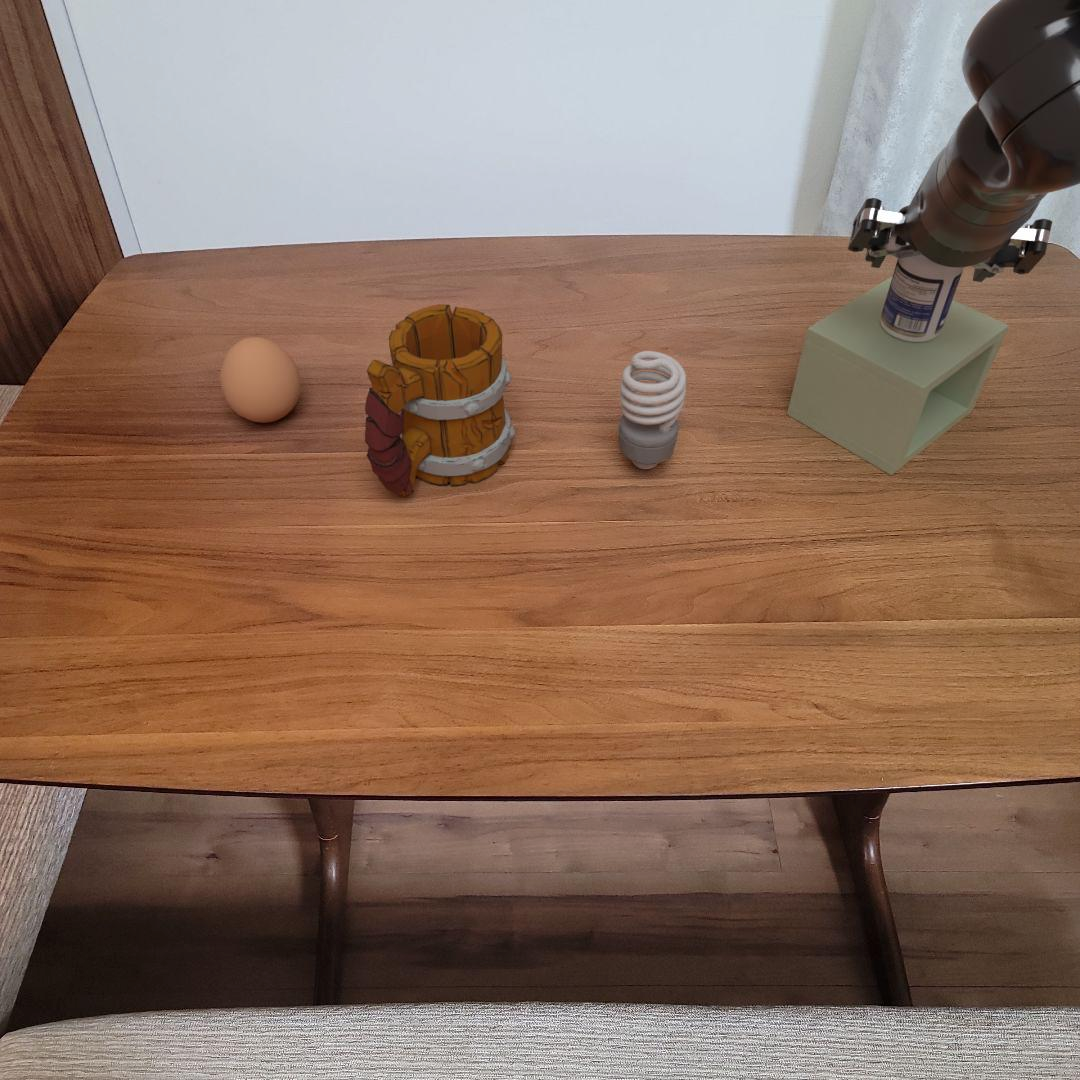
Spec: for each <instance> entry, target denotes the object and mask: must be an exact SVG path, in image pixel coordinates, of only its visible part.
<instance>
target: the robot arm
mask: <svg viewBox="0 0 1080 1080" xmlns="http://www.w3.org/2000/svg"><path fill="white" fill-rule="evenodd" d="M963 49H964V50H963V51H962V52H963V53H962V59H961V72H962V75H963V78H964V81H965V83H966V85H967V87H968V89H969V92H970V93H971V96H972V97H973V99H974V101H975V103H974V104H973V105H972V106H971V107H970V108H969V109H968V110H967V112H966V113H965V114H964V115H963V117H961V119H960V121H959V122H958V124H957V126H956V128H955V130H954V132H953V133H952V135H951V136H950V138H949V140H948V142H947V143H946V145H945V146H944V147H943V148H942V150H941V151H940V152H939V153H938V154H937V155H936V157H935V159H934V160H933V162H932V163H931V165H930V166H929V168H928V170H927V172H926V174H925V176H924V177H923V178H922V179H923V180H922V181H921V183H920V185H919V187H918V188H917V190H916V192H915V193H914V196H913V197H912V199H911V202H910V203H909V204H908V205H906V206H903V207H901V208H900V209H899V210H898V211H892V210H887V209H886V210H885V206H883V205H882V202H883V201H882V200H881V199H879V198H876V197H871V198H870V197H869V198H866V199H865V201H864V202H863V204H862V206H861V207H860V209H859V211H858V212H857V214H856V216H855V217H854V219H853V222H852V231H851V234H850V240H849V242H848V246H847V250H848V251H850V252H852V253H860V252H862V251H864V250H865V249H866V253H865V258H864V259H865V261H866V262H869V263H871V265H870V268H875V269H880V268H881V266H882V264H883V263H884V260H885V259H886V256H892V257H895V258H897V259H898V258H899V259H901V258H906V257H912V256H917V255H923V256H925V257H926V258H928V259H929V260H931V261H933V262H935V263H937V264H940V265H943V266H947V267H964V268H967V267H968V268H969V267H972V268H974V271H973V277H972V282H977V283H983V282H984V280H985V279H990V278H993V277H995V276H996V275H997V274H1001V273H1003V272H1004V271H1005V268H1013V269H1012V272H1013V273H1014V274H1018V275H1026V274H1029V273H1031V271H1032V270H1033V269H1034V268H1035V267H1036V266H1037V265H1038V264H1039V262H1040V261H1041V260H1042V259H1043V258H1044V257H1045V256H1046V254H1047V248H1048V244H1049V239H1050V235H1051V231H1052V227H1053V221H1052V220H1051V219H1047V218H1040V219H1036V220H1035V221H1034V222H1033V223H1032V224H1030V223H1029V224H1028V223H1027V222H1028V221H1030V219H1031V218H1032V217H1033V215H1034V213H1035V212H1036V210H1037V209H1038V206H1039V205H1040V203H1041V201H1042V200H1043V199H1044V198H1045V197H1046V196H1047V195H1048V194H1049V193H1054V192H1057V191H1061V190H1065V189H1069V188H1071V187H1072V188H1073V187H1075V186H1077V185H1080V0H999V1H998V2H997V3H995V4H994V5H992V7H990V8H989V10H988V11H987V12H985V14H984V15H982V17H981V18H980V20H979V21H978V22H977V23H976V25H975V26H974V28H973V29H972V31H971V33H970V35H969V37H968V39H967V42H966V43H965V47H964V48H963ZM1026 223H1027V224H1026ZM1023 226H1024V227H1023ZM908 243H909V245H906V244H908ZM1010 244H1011V245H1010Z"/></svg>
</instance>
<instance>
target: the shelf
mask: <svg viewBox="0 0 1080 1080" xmlns="http://www.w3.org/2000/svg"><path fill="white" fill-rule="evenodd" d="M892 277H893V275H892V276H890V277H888V278H887V279H885V280H883V281H882V282H880V283H878V284H877V285H875V286H874V287H872V288H870V289H869V290H866V291H865V292H863V293H862V294H861V295H858V296H857V297H856V298H854V299H852V300H851V301H849V302H848V303H846V304H845V305H843V306H841V307H839V308H838V309H836V310H835V311H833V312H831V313H830V314H828V315H827V316H825V317H824V318H822V319H820V320H818V321H817V322H815V323H813V324H812V325H811V326H809V327H808V328H807V330H806V334H805V339H804V341H803V346H802V347H803V348H802V351H801V355H800V359H799V364H798V367H797V370H796V375H795V380H794V384H793V388H792V392H791V396H790V401H789V404H788V407H787V413H786V416H789V417H791V418H793V419H794V420H796V421H798V423H801V424H802V425H804V426H806V427H807V428H810V429H811V430H813V431H815V432H816V433H818V434H820V435H821V436H823V437H825V438H827V440H830V441H831V442H834V444H837V445H839V446H840V447H842V448H844V449H845V450H847V451H849V452H850V453H852V454H853V455H856V456H857V457H858V458H861V459H862V460H864V461H866V462H867V463H869V464H870V465H873V466H874V467H876V468H878V469H879V470H880V471H883V472H885V473H887V474H888V475H890V476H892V475H894V474H895V473H897V472H898V471H899V470H900V469H902V468H903V467H904V466H905V465H906V464H908V463H909V462H910V461H912V460H913V459H914V458H915V457H917V456H918V455H919V454H921V453H922V452H923V451H924V450H926V449H927V448H928V447H930V446H931V445H932V444H933V443H935V442H936V441H937V440H938V439H939V438H941V437H942V436H943V435H944V434H946V433H947V432H948V431H950V430H951V429H952V428H954V427H955V426H956V425H957V424H958V423H960V422H961V421H962V420H964V419H965V418H966V417H967V416H969V415H970V414H971V413H973V411H974V409H975V406H976V404H977V401H978V400H979V397H980V395H981V393H982V389H983V387H984V385H985V383H986V380H987V378H988V375H989V374H990V371H991V369H992V366H993V364H994V362H995V359H996V357H997V355H998V352H999V350H1000V347H1001V345H1002V343H1003V341H1004V338H1005V335H1006V334H1007V331H1008V329H1009V324H1008V323H1005V322H1003V321H1001V320H998V319H996V318H994V317H992V316H989V315H987V314H985V313H983V312H981V311H979V310H976V309H974V308H972V307H970V306H968V305H965V304H963V303H961V302H959V301H957V300H954V299H953V300H952V303H951V305H950V308H949V311H948V314H947V317H946V320H945V322H944V325H943V328H942V330H941V332H940V334H939V335H938V336H937V337H935V338H934V339H932V340H929V341H925V342H908V341H904V340H900V339H898V338H895V337H893V336H892V335H890V334H889V333H887V332H886V331H885V330H884V329H883V327H882V326H881V322H880V319H881V314H882V311H883V307H884V304H885V300H886V297H887V294H888V291H889V287H890V284H891V280H892Z"/></svg>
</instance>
